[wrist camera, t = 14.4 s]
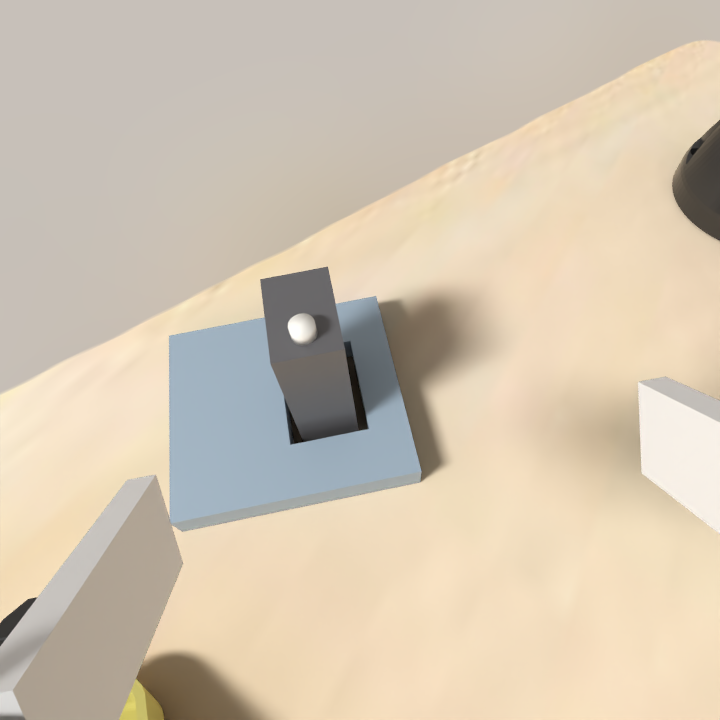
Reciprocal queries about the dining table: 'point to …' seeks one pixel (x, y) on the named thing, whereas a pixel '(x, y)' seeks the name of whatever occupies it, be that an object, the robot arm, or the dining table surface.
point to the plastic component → (141, 705)
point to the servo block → (309, 353)
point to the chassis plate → (276, 426)
